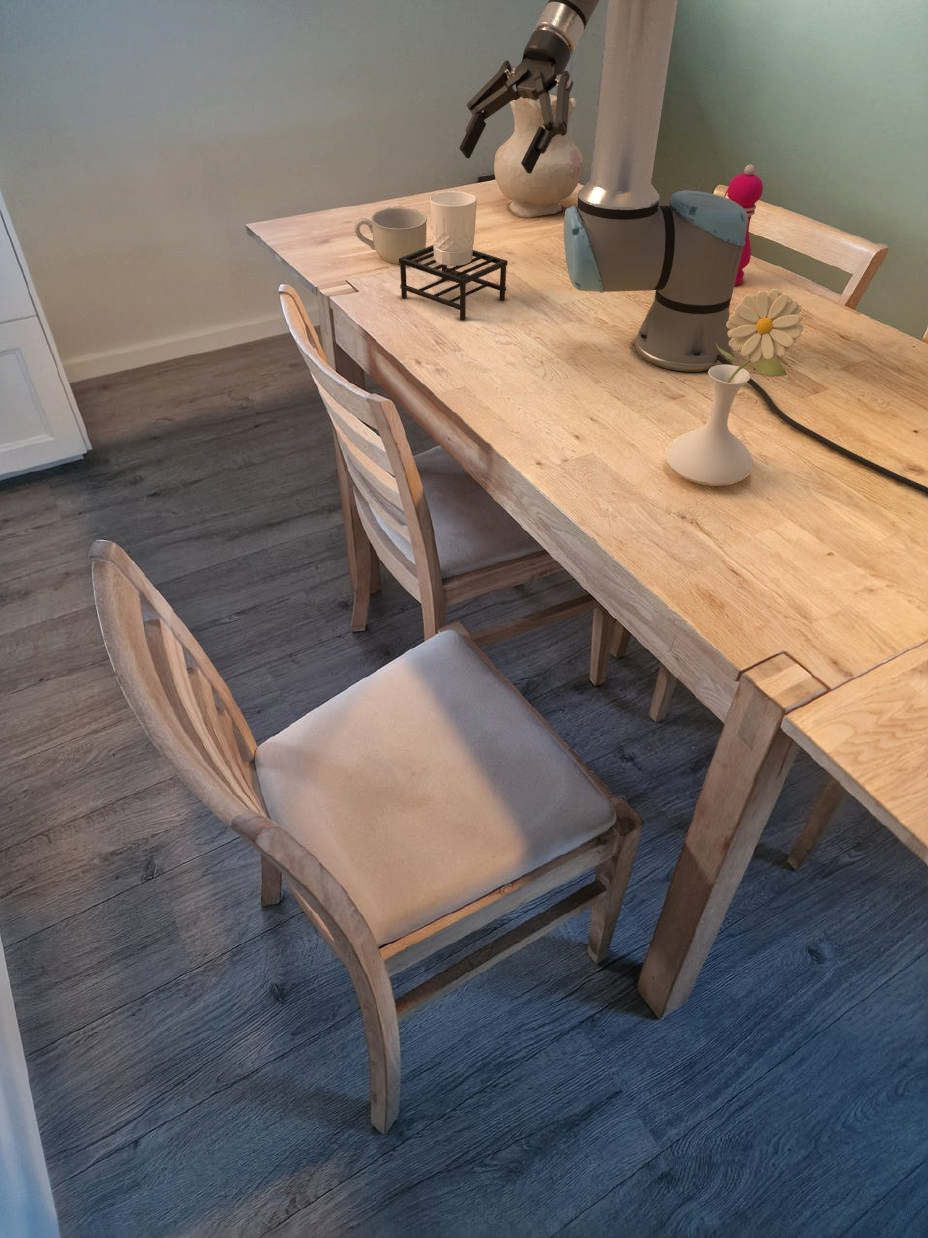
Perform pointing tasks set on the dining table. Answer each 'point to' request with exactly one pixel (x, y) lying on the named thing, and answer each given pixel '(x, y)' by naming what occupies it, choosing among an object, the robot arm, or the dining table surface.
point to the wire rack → (453, 277)
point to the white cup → (453, 227)
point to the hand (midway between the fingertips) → (494, 160)
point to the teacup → (395, 232)
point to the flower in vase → (737, 388)
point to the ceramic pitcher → (537, 163)
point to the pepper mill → (745, 207)
